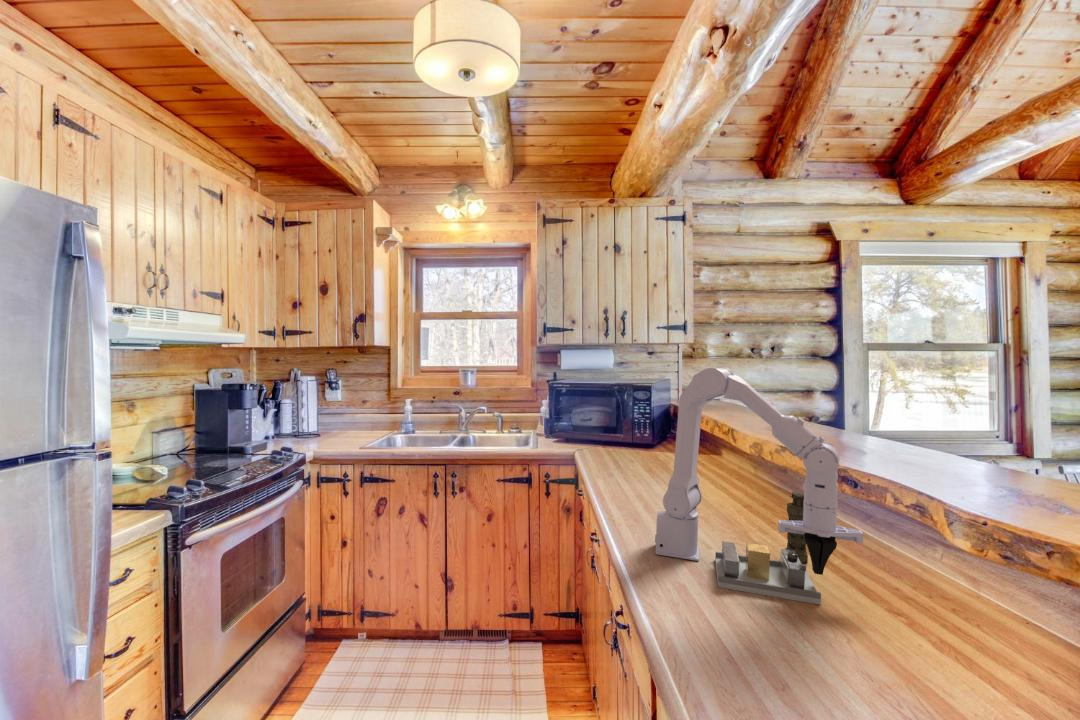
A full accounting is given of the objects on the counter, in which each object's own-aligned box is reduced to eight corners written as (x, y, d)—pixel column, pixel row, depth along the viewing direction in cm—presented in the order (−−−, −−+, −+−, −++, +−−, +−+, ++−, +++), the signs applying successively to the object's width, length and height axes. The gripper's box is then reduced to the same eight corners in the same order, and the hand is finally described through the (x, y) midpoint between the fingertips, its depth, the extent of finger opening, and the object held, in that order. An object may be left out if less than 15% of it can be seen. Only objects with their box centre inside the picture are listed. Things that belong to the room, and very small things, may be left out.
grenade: (815, 568, 103) (818, 500, 102) (785, 562, 105) (788, 496, 105) (812, 553, 111) (814, 490, 110) (784, 548, 113) (786, 486, 113)
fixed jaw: (724, 579, 94) (725, 560, 94) (721, 559, 104) (722, 541, 104) (739, 582, 93) (739, 562, 93) (735, 561, 103) (735, 543, 103)
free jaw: (788, 588, 91) (789, 563, 91) (779, 566, 100) (780, 543, 100) (804, 591, 90) (805, 565, 90) (793, 568, 99) (794, 545, 99)
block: (747, 577, 96) (748, 550, 96) (745, 568, 99) (746, 542, 99) (769, 580, 94) (770, 553, 94) (766, 571, 98) (767, 545, 98)
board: (718, 587, 93) (718, 577, 93) (715, 559, 106) (715, 551, 106) (820, 604, 88) (821, 594, 88) (805, 573, 100) (805, 564, 100)
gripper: (783, 505, 92) (780, 574, 92) (870, 516, 87) (866, 588, 87) (777, 495, 98) (774, 559, 99) (857, 504, 94) (854, 571, 94)
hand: (817, 572), depth 93 cm, fingers closed
